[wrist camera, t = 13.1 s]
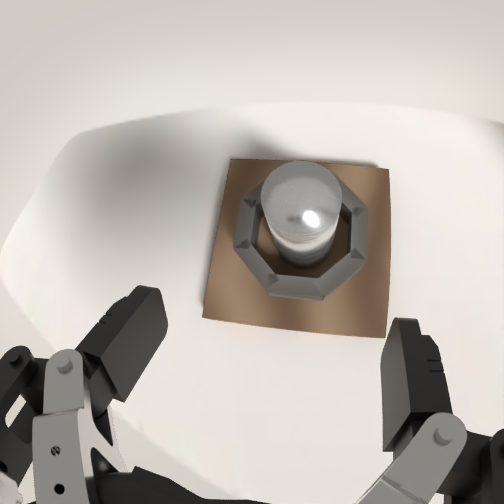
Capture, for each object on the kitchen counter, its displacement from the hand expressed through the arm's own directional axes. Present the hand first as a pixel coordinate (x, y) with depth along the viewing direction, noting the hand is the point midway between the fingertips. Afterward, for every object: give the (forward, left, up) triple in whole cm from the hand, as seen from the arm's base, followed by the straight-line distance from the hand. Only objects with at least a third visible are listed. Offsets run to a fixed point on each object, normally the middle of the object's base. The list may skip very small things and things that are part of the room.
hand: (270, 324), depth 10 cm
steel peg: (0, -7, -13) cm, 15 cm away
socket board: (0, -7, -14) cm, 16 cm away
